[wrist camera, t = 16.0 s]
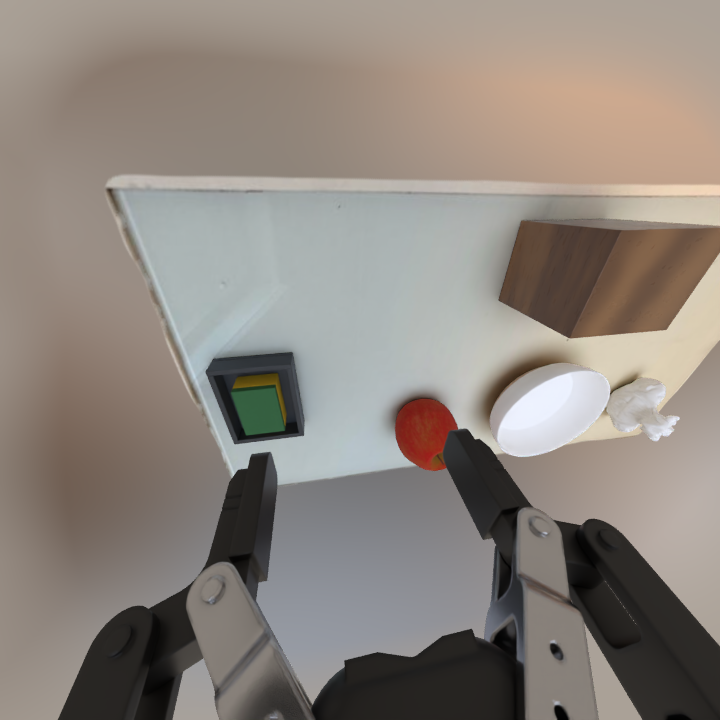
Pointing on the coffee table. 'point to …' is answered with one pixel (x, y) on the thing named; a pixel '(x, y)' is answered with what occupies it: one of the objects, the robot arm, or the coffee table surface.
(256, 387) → the sponge
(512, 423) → the bowl
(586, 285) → the wooden block
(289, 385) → the tray
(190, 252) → the coffee table surface
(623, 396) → the bust
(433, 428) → the apple
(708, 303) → the coffee table surface
